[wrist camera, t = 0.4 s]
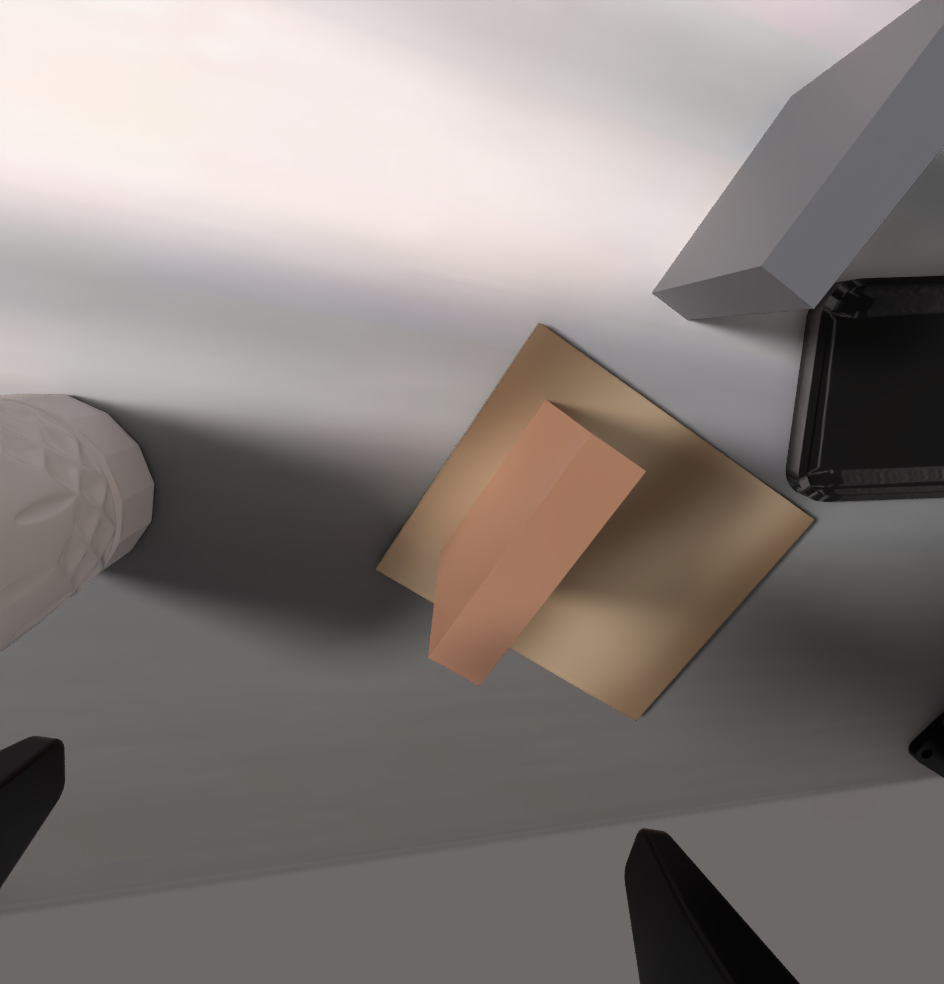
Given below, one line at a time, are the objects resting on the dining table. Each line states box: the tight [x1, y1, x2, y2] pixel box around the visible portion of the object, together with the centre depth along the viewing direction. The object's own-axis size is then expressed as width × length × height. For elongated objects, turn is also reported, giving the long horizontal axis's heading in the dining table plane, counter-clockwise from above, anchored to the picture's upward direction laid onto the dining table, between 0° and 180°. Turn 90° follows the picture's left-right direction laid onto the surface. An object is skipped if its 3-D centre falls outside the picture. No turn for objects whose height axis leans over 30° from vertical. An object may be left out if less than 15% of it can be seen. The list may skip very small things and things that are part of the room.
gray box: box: [652, 0, 944, 320], centre depth 14 cm, size 2×7×7 cm, turn 147°
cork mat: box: [376, 323, 814, 721], centre depth 20 cm, size 13×11×1 cm
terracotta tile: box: [428, 400, 646, 686], centre depth 16 cm, size 2×7×7 cm, turn 146°
